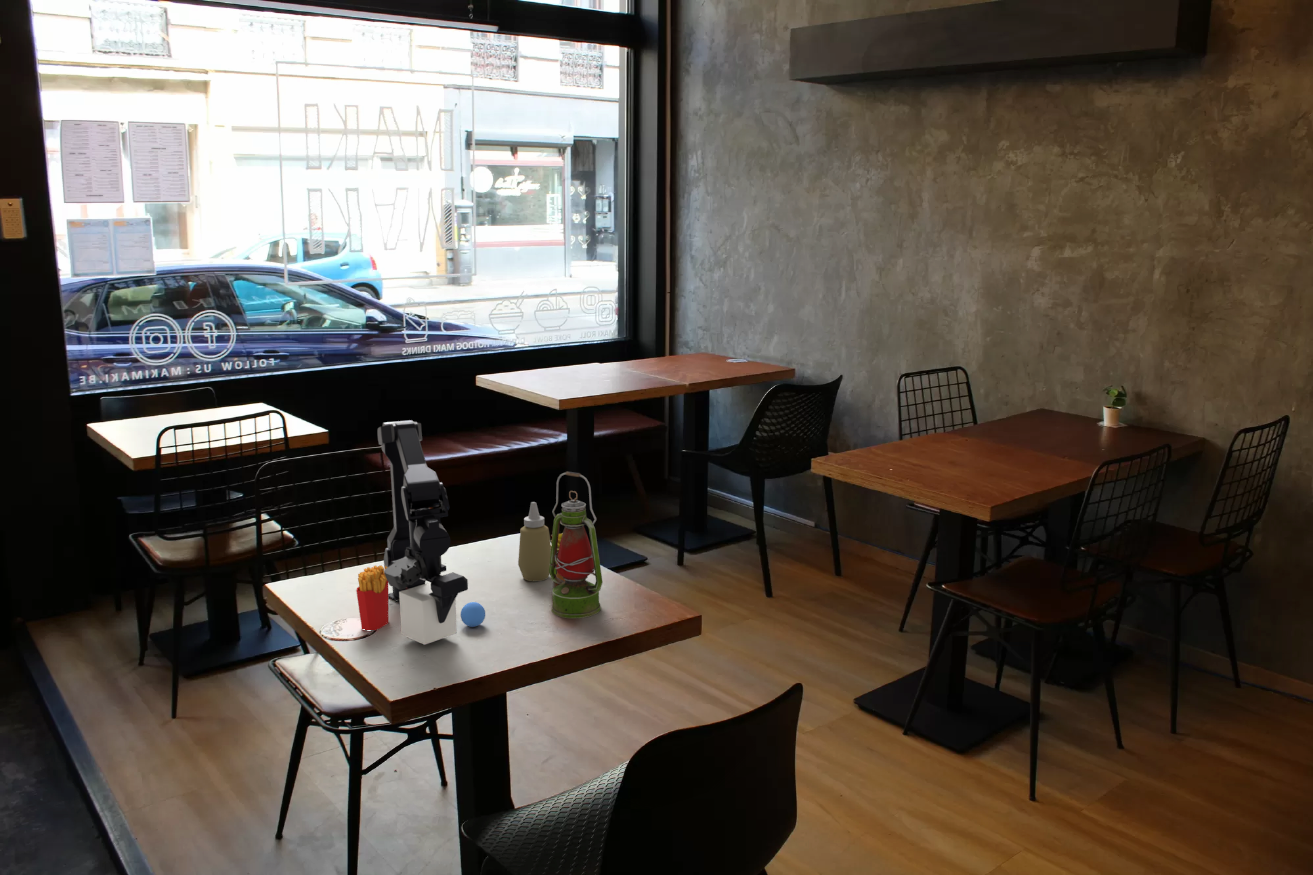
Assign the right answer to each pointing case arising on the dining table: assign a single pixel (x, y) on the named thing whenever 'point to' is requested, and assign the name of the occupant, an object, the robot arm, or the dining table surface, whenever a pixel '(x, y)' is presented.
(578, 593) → the lantern
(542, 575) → the squeeze bottle
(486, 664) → the dining table surface
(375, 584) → the french fries
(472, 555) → the dining table surface
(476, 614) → the ball
